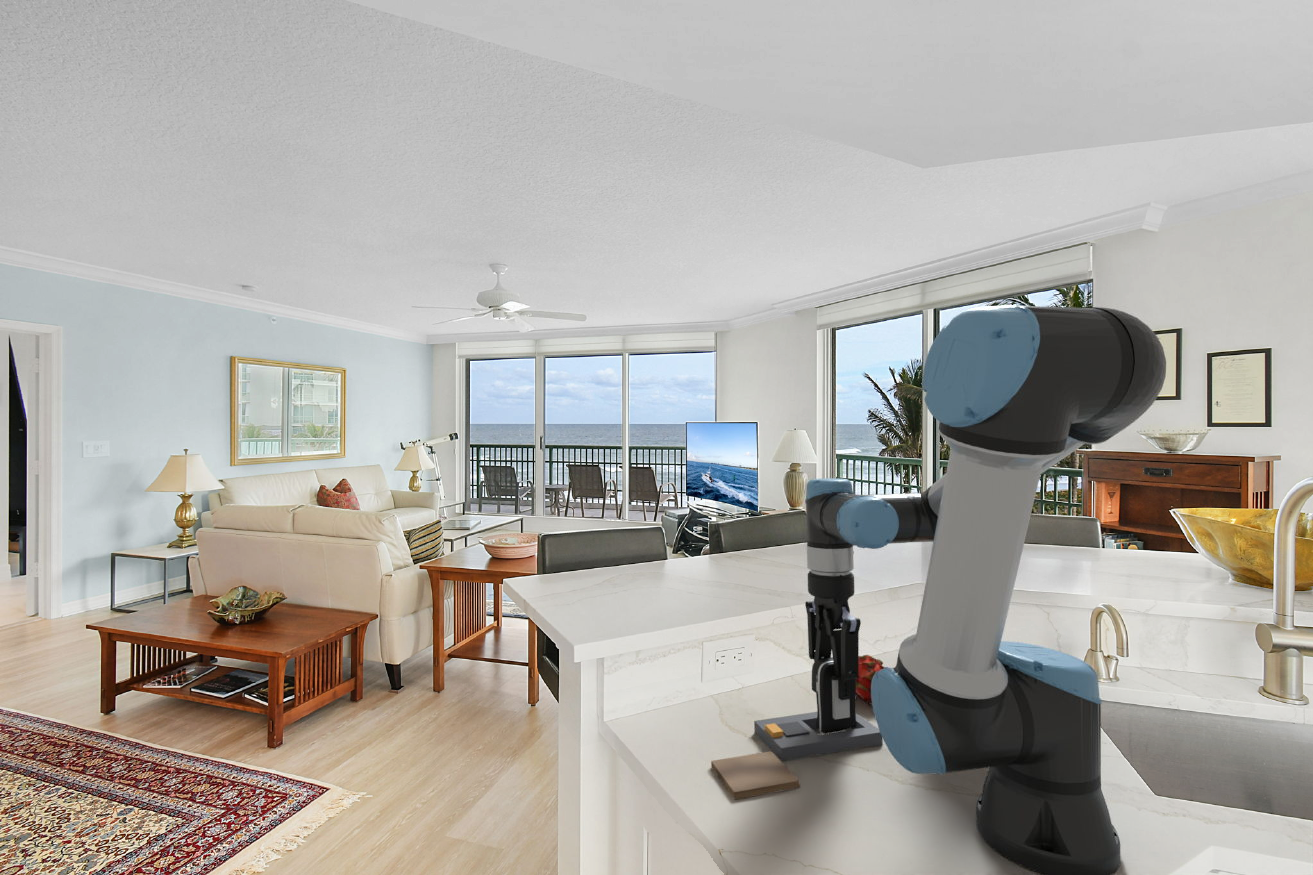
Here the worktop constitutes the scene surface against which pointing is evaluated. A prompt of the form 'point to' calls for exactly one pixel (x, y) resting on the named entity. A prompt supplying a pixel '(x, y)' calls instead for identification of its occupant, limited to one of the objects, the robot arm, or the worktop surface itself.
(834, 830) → the worktop surface
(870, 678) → the dragon fruit
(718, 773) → the walnut board
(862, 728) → the grey flat piece
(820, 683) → the battery charger
